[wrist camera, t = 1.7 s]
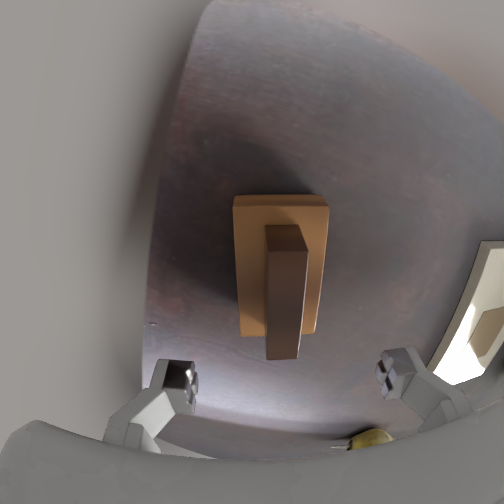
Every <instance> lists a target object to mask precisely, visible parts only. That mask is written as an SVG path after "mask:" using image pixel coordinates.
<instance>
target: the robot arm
mask: <svg viewBox="0 0 504 504" xmlns="http://www.w3.org/2000/svg"><path fill="white" fill-rule="evenodd" d="M380 357H381V359H382V360H380V361H379V362H378V363H377V366H376V378H377V381H378V383H380V384H381V385H382V387H381V392H382V395H383V398H384V400H385V401H387V400H392V399H397V398H400V399H401V400H403V401H404V402H405V403H406V404H407V405H408V406H409V407H410V408H411V409H412V410H414V411H415V412H416V413H417V414H418V415H419V416H420V417H421V418H422V419H423V420H425V422H424V423H423V424H422V425H421V426H420V427H419V429H418V431H419V433H417V434H414V435H411V436H408V437H404V438H401V439H397V440H394V441H390V442H386V443H382V444H378V445H374V446H369V447H365V448H360V449H355V450H350V451H344V452H338V453H332V454H325V455H317V456H309V457H299V458H287V459H268V460H224V459H206V458H194V457H193V458H192V457H184V456H183V457H182V456H175V455H167V454H161V453H160V452H161V450H160V449H159V447H158V446H157V445H156V443H155V442H154V441H153V438H154V437H155V436H156V435H157V434H158V433H159V432H160V431H161V429H162V428H163V427H164V426H165V425H166V424H167V423H168V422H169V420H170V419H171V418H172V417H173V416H174V415H175V413H187V414H194V413H195V406H196V399H195V395H196V394H197V393H198V375H197V373H196V372H195V364H194V361H182V360H169V359H159V360H158V361H157V363H156V366H155V370H154V373H153V376H152V380H151V383H150V386H149V388H145V389H144V390H143V391H141V392H140V393H139V394H138V395H137V396H135V397H134V398H133V399H132V400H131V401H130V402H128V403H127V404H126V405H124V406H123V407H122V408H121V409H120V410H118V411H117V412H116V413H115V414H114V415H112V416H111V417H110V419H109V422H108V425H107V428H106V431H105V434H104V437H103V440H102V441H99V440H95V439H92V438H88V437H85V436H82V435H79V434H76V433H73V432H70V431H67V430H64V429H61V428H59V427H56V426H53V425H50V424H48V423H46V422H43V421H40V420H34V421H32V422H29V423H28V424H26V425H24V426H22V427H21V428H19V429H18V430H16V431H14V432H13V433H12V434H11V435H10V436H9V438H8V440H7V441H6V443H5V445H4V447H3V449H2V451H1V454H0V504H504V396H503V397H501V398H500V399H498V400H496V401H494V402H492V403H490V404H488V405H486V406H484V407H482V408H480V409H478V410H476V411H474V412H473V410H472V408H471V406H470V404H469V402H468V400H467V398H466V396H465V394H464V392H463V391H461V390H459V389H458V388H456V387H455V386H453V385H452V384H450V383H449V382H447V381H446V380H444V379H442V378H441V377H439V376H438V375H436V374H435V373H433V372H432V371H430V370H428V371H427V370H426V368H425V366H424V364H423V362H422V360H421V358H420V356H419V355H418V353H417V351H416V349H415V347H414V346H408V347H403V348H402V347H401V348H396V349H390V350H384V351H383V352H382V354H381V356H380Z"/></svg>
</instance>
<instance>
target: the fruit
mask: <svg viewBox="0 0 504 504" xmlns="http://www.w3.org/2000/svg"><path fill="white" fill-rule="evenodd" d="M394 440H395V439H394V438H392V437H391V436H389V434H388V433H387V432H385V431H384V430H382V429H378V428H375V429H370V430H367V431H365V432H363V433H361V434H358V435H356V436H354V437H352V438H351V439H350V440H349V441H350V442H349V444H348V445H337V446H331V448H347V451H350V450H355V449H360V448H365V447H369V446H374V445H378V444H382V443H386V442H390V441H394Z"/></svg>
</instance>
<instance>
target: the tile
mask: <svg viewBox="0 0 504 504" xmlns="http://www.w3.org/2000/svg"><path fill="white" fill-rule="evenodd" d="M503 341H504V241H481V243H480V247H479V250H478V253H477V256H476V259H475V262H474V265H473V268H472V271H471V274H470V277H469V279H468V282H467V285H466V287H465V290H464V292H463V295H462V297H461V299H460V302H459V304H458V307H457V309H456V311H455V313H454V316H453V318H452V320H451V322H450V324H449V326H448V328H447V330H446V332H445V334H444V336H443V338H442V340H441V342H440V344H439V346H438V348H437V350H436V352H435V353H434V355H433V357H432V359H431V361H430V362H429V364H428V366H427V368H426V370H427V371H428V370H430V371H432V372H433V373H435V374H436V375H438V376H439V377H441V378H442V379H444V380H446V381H447V382H449V383H450V384H452V385H454V384H457V383H460V382H463V381H465V380H468V379H471V378H473V377H476V376H478V375H481V374H482V373H483V372H484V370H485V369H486V367H487V366H488V365H489V363H490V362H491V360H492V359H493V357H494V356H495V354H496V353H497V351H498V349H499V348H500V346H501V345H502V343H503Z"/></svg>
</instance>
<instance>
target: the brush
mask: <svg viewBox="0 0 504 504" xmlns="http://www.w3.org/2000/svg"><path fill="white" fill-rule="evenodd" d="M232 209H233V228H234V245H235V262H236V278H237V293H238V308H239V323H240V335H241V336H265V343H266V359H267V360H287V359H297V358H298V352H299V344H300V337H301V334H314V332H315V326H316V319H317V313H318V306H319V299H320V292H321V285H322V277H323V269H324V260H325V251H326V242H327V232H328V221H329V209H330V206H329V205H328V203H327V202H326V201H325V199H324V198H323V197H322V195H315V194H251V195H239V196H235V197H234V202H233V208H232Z"/></svg>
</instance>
